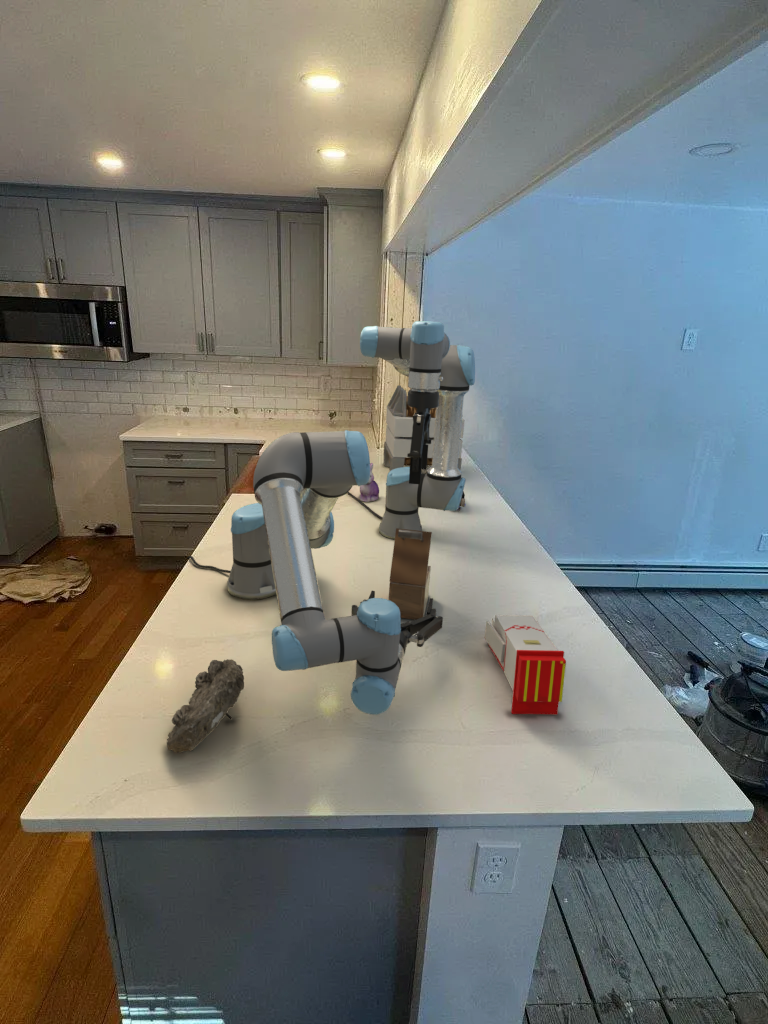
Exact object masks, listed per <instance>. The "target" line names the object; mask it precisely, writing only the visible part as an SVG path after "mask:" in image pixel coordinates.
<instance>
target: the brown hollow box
mask: <svg viewBox="0 0 768 1024" xmlns="http://www.w3.org/2000/svg"><path fill="white" fill-rule="evenodd" d="M431 568H432V567H431V565H428V570H427V578H426V586H421V585H413V584H405V583H397V582H390V581H389V586H388V600H390V601H392V602H393V603H395V604H396V605H397V606H398V607H399V610H400V617H401V619H405V620H406V619H407V620H412V621H414V620H417V619H419V618H422V617H424V616H425V613H426V610H427V606H428V605H427V604H428V602H429V594H430V582H431Z"/></svg>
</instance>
